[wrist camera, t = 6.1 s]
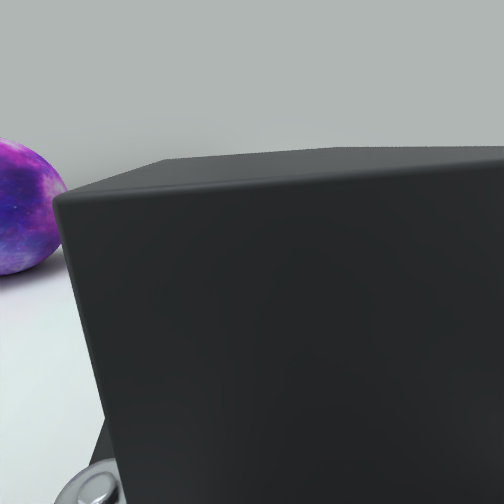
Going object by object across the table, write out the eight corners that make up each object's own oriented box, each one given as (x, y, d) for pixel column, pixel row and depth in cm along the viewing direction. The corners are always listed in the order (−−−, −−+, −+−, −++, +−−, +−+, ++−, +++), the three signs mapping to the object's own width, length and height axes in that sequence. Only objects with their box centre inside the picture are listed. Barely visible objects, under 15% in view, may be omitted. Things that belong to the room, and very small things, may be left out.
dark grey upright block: (333, 486, 12) (338, 146, 9) (466, 821, 6) (676, 144, 3) (212, 510, 12) (161, 159, 8) (225, 905, 6) (43, 196, 2)
